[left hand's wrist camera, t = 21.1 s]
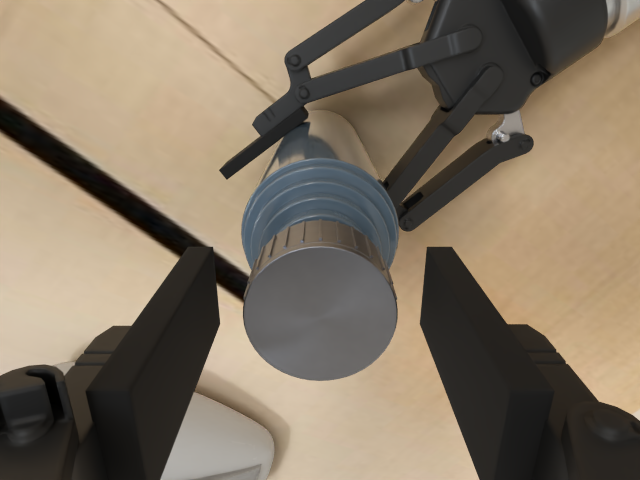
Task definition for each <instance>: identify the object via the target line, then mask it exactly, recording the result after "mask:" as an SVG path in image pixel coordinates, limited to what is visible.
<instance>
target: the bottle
mask: <svg viewBox="0 0 640 480" xmlns="http://www.w3.org/2000/svg"><path fill="white" fill-rule="evenodd" d="M308 113H309V116H308V119H306V120H305V121H304V122H302V123H301V124H300V125H298V126H297V127H296V128H294V129H293V130H292V131H290V132H289V133H288V134H286V135H285V136H284V137H282V138H281V139H280V141H279V143H278V145H277V147H276V149H275V151H274V153H273V155H272V157H271V158H270V160H269V162H268V164H267V166H266V168H265V170H264V172H263V174H262V176H261V178H260V180H259V182H258V184H257V186H256V187H255V189H254V191H253V193H252V195H251V197H250V199H249V201H248V203H247V205H246V208H245V212H244V215H243V220H242V232H241V235H242V244H243V248H244V252H245V255H246V258H247V261H248V264H249V266H250V268H251V270H252V268H253V265H254V262H255V259H258V257H259V255H260V253H261V250H262V247H263V246H266V244H267V243H268V242H269V241H270V240H271V239H272V238H273V236H274V235H277V234H278V233H280V232H281V231H283V230H285V229H286V228H287V227H288V226H289V227H291V226H293V225H296V224H299V223H302V221H305V222H307V221H316V220H319V219H322V220H325V221H333V222H336V221H338V222H339V223H342V224H345V225H348V226H350V227H352V226H353V227H354V228H355V229H356V230H358V231H359V232H361V233H362V234H364V235H367V236H368V239H369V240H370V241H371V242H372V243H373V244H374V245H375V246H378V248H379V251H380V254H381V256H382V258H383V259H385V260H386V263H387V266H388V269H390V267H391V265H392V262H393V259H394V256H395V253H396V250H397V245H398V239H399V225H398V218H397V214H396V210H395V207H394V205H393V203H392V200H391V198H390V196H389V194H388V192H387V191H386V189H385V187H384V185H383V183H382V181H381V179H380V177H379V175H378V173H377V171H376V169H375V167H374V166H373V164H372V162H371V160H370V158H369V156H368V154H367V152H366V150H365V148H364V146H363V144H362V142H361V141H360V139H359V137H358V135H357V133H356V131H355V129H354V128H353V126H352V125H351V124H350V123H349V122H348V121H347V120H346V119H345V118H344V117H342V116H341V115H339V114H337V113H334V112H332V111H328V110H313V111H309V112H308Z"/></svg>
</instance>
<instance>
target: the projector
mask: <svg viewBox="0 0 640 480" xmlns="http://www.w3.org/2000/svg"><path fill="white" fill-rule="evenodd" d="M74 365H75V362H65V363H60V364H56V365H53V366H55V367H57V368H58V369H60V370H61V371H62V372H63V374H64V375H65V374H66V373H67V372H68V371H69V369H70V368H71V367H72V366H74ZM273 458H274V442H273V438H272V436H271V434H270V433H269V431H268V430H267V429H265V428H264V427H263V426H261V425H260V424H258V423H257V422H255V421H253V420H252V419H250V418H248V417H247V416H245V415H243V414H241V413H239V412H237V411H235V410H233V409H231V408H229V407H227V406H225V405H223V404H221V403H219V402H217V401H215V400H212V399H210V398H208V397H206V396H203V395H201V394H198V393H196V392H194V393H193V396H192V398H191V401H190V404H189V406H188V409H187V411H186V414H185V417H184V419H183V422H182V425H181V427H180V430H179V432H178V435H177V438H176V440H175V443H174V445H173V448H172V451H171V453H170V456H169V458H168V461H167V464H166V466H165V469H164V472H163V474H162V477H161V479H160V480H266V479H267V477H268V474H269V472H270V469H271V465H272V462H273Z"/></svg>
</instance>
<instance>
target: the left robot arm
mask: <svg viewBox="0 0 640 480" xmlns="http://www.w3.org/2000/svg"><path fill="white" fill-rule="evenodd" d="M219 325H220V318H219V307H218V296H217V285H216V274H215V264H214V253H213V247H188V248H187V249H186V251H185V252H184V254H183V255H182V256H181V258H180V259H179V261H178V262H177V263H176V265H175V266H174V268H173V269H172V270H171V272H170V273H169V275H168V276H167V277H166V279H165V280H164V282H163V283H162V284H161V286H160V287H159V289H158V290H157V291H156V293H155V294H154V296H153V297H152V298H151V300H150V301H149V302H148V304H147V305H146V307H145V308H144V309H143V311H142V312H141V314H140V315H139V316H138V318H137V319H136V321H135V322H134V323H133V325H132V326H112V327H111V328H109V329H108V330H106V331H105V332H103V333H102V334H100V335H99V336H97V337H96V338H95V339H94V340H93V341H92V342H91V344H90V345H89V346H88V347H87V349H86V350H85V351H84V354H82V355H81V356H80V357H79V358H78V360H77V361H76V362H75V365H74V366H72V367H71V368H70V369H69V371H68V372H67V373H66V374H65V375H64V374H63V372H62V371H61V370H60V369H58V368H57V367H55V366H49V365H33V366H27V367H23V368H19V369H15V370H12V371H10V372H8V373H5V374H3V375H1V376H0V480H160V479H161V477H162V474H163V472H164V469H165V466H166V464H167V461H168V458H169V456H170V453H171V451H172V448H173V445H174V443H175V440H176V438H177V435H178V432H179V430H180V427H181V425H182V422H183V419H184V417H185V414H186V411H187V409H188V406H189V404H190V401H191V398H192V396H193V393H194V391H195V388H196V385H197V383H198V380H199V377H200V375H201V372H202V370H203V367H204V364H205V362H206V359H207V357H208V354H209V351H210V349H211V346H212V344H213V341H214V338H215V336H216V333H217V330H218V328H219ZM420 325H421V328H422V330H423V333H424V336H425V338H426V341H427V344H428V346H429V349H430V351H431V354H432V357H433V359H434V362H435V364H436V367H437V370H438V372H439V375H440V377H441V380H442V383H443V385H444V388H445V391H446V393H447V396H448V398H449V401H450V404H451V406H452V409H453V411H454V414H455V417H456V419H457V422H458V425H459V427H460V430H461V432H462V435H463V438H464V440H465V443H466V445H467V448H468V451H469V453H470V456H471V458H472V461H473V464H474V466H475V469H476V472H477V474H478V477H479V479H480V480H640V421H639V420H638V419H637V418H635V417H634V416H633V415H631V414H629V413H627V412H625V411H624V410H622V409H620V408H618V407H615V406H612V405H609V404H605V403H602V402H599V401H598V400H597V399H596V398H595V396H594V395H593V394H592V393H591V392H590V390H589V389H588V388H587V387H586V385H585V384H584V383H583V382H582V381H581V379H580V378H579V377H578V376H577V375H576V373H575V372H574V371H573V370H572V368H571V367H570V366H569V365H568V364H566V363H565V362H566V361H565V360H564V359H563V358H562V356H561V355H560V354H559V353H557V352H556V349H555V348H554V347H553V345H552V344H551V343H550V342H549V340H548V339H547V338H546V337H545V336H544V335H542V334H541V333H539V332H538V331H536V330H535V329H533V328H532V327H530V326H529V325H527V324H507V323H506V322H505V321H504V319H503V318H502V316H501V315H500V314H499V312H498V311H497V309H496V308H495V307H494V305H493V304H492V303H491V301H490V300H489V298H488V297H487V296H486V294H485V293H484V291H483V290H482V289H481V287H480V286H479V284H478V283H477V282H476V280H475V279H474V277H473V276H472V275H471V273H470V272H469V270H468V269H467V268H466V266H465V265H464V263H463V262H462V261H461V259H460V258H459V256H458V255H457V254H456V252H455V251H454V249H453V248H452V247H427V253H426V264H425V274H424V285H423V296H422V307H421V318H420Z"/></svg>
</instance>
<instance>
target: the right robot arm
mask: <svg viewBox="0 0 640 480" xmlns="http://www.w3.org/2000/svg"><path fill="white" fill-rule="evenodd" d="M403 1H406V2H408V3H409V4H412V5H415V4H418V3H420V2H421V1H423V0H365V1H364V2H362V3H361V4H359V5H358V6H356V7H355V8H353V9H352V10H350V11H349V12H347V13H346V14H344V15H343V16H341V17H340V18H338V19H337V20H335V21H334V22H332V23H331V24H329V25H328V26H326V27H325V28H323V29H322V30H320V31H319V32H317V33H316V34H314V35H313V36H311V37H310V38H308V39H306V40H305V41H303V42H302V43H300V44H299V45H297V46H296V47H294V48H293V49H291V50H290V51H289V52H288V53H287V54H286V56H285V65H286V67H287V70H288V74H289V77H290V81H291V86H290V89H289V91H288V92H287V93H286V94H285V95H284V96H282V97H281V98H280V99H279V100H277V101H276V102H275V103H274V104H272V105H271V106H270V107H268V108H267V109H266V110H265V111H263V112H262V113H261V114H259V115H258V116H257V117H256V119H255V120H254V122H253V124H252V125H253V127H254V128H255V129H256V130H257V132H258V133H259V134H260V137H259V138H257V139H256V140H255V141H254V142H252V143H251V144H250V145H248V146H247V147H246V148H244V149H243V150H242V151H241V152H239V153H238V154H237V155H235V156H234V157H233V158H231V159H230V160H229V161H228V162H227V163H226V164H225V165H224V166H223V167H222V168H221V169H220V170H219V171H220V172H221V173H222V174H223V176H224V177H225V178H226V179H228V178H230V177H231V176H232V175H234V174H235V173H236V172H238V171H239V170H240V169H242V168H243V167H244V166H245V165H247V164H248V163H249V162H251V161H252V160H253V159H255V158H256V157H257V156H259V155H260V154H261V153H263V152H264V151H265V150H267V149H268V148H269V147H271V146H272V145H273V144H275V143H276V142H277V141H279V140H280V139H281V138H282V137H284V136H285V135H286V134H288V133H289V132H290V131H292V130H293V129H294V128H296V127H297V126H298V125H300V124H301V123H302V122H304V121H305V120H306V119H308V116H309V113H308V112H307V110H306V109H305V107H304V105H305V104H307V103H309V102H312V101H315V100H318V99H321V98H324V97H327V96H330V95H333V94H336V93H339V92H342V91H346V90H349V89H352V88H355V87H358V86H361V85H364V84H367V83H370V82H373V81H376V80H379V79H382V78H385V77H388V76H391V75H394V74H397V73H400V72H403V71H407V70H411V69H414V68H418V70H419V71H420V73H421V75H422V76H423V77H424V78H425V79H426V80H427V81H428V82H429V83H431V85H432V88H433V91H434V95H435V98H436V99H437V101H438V102H439V104H440V106H439V107H438V108H437V109H436V111H435V112H434V113H433V115H432V117H431V120H430V121H429V123H428V124H427V125H426V127H425V128H424V129H423V131H422V132H421V133H420V135H419V136H418V137H417V138H416V140H415V141H414V142H413V144H412V145H411V146H410V148H409V149H408V150H407V151H406V153H405V154H404V155H403V157H402V158H401V159H400V161H399V162H398V163H397V164H396V166H395V167H394V168H393V170H392V171H391V172H390V174H389V175H388V176H387V177H386V179H385V180H384V181H383V185H384V187H385V189H386V191H387V192H388V194H389V196H390V198H391V200H392V203H393V205H394V207H395V210H396V214H397V218H398V225H399V226H400V227H401V229H402V230H404V231H412V230H414V229H415V228H416V227H418V226H419V225H420V224H421V223H423V222H424V221H425V220H427V219H428V218H429V217H431V216H432V215H433V214H434V213H436V212H437V211H438V210H440V209H441V208H442V207H444V206H445V205H446V204H447V203H449V202H450V201H451V200H453V199H454V198H455V197H456V196H458V195H459V194H460V193H462V192H463V191H464V190H466V189H467V188H468V187H469V186H471V185H472V184H473V183H475V182H476V181H477V180H478V179H480V178H481V177H482V176H484V175H485V174H486V173H488V172H489V171H490V170H491V169H493V168H494V167H495V166H497V165H498V164H499V163H501V162H504V161H507V160H509V159H512V158H515V157H518V156H520V155H523V154H526V153H528V152H529V151H530V150H531V149H532V147H533V139H532V137H530V136H529V135H526V134H525V133H524V129H523V124H522V119H521V115H520V110H519V109H520V108H522V106H523V105H524V104H525V102H526V101H527V99H528V97H529V96H530V94H531V93H532V92H533V91H534V90H535V89H536V88H538V87H539V86H541V85H542V84H544V83H545V82H547V81H548V80H550V79H551V78H553V77H554V76H556V75H557V74H559V73H560V72H562V71H563V70H564V69H566V68H567V67H569V66H570V65H572V64H573V63H575V62H576V61H578V60H579V59H580V58H582V57H583V56H585V55H586V54H588V53H589V52H591V51H592V50H594V49H595V48H596V47H598V46H599V45H600V44H601V42H602V40H603V38H607V37H612V36H614V35H616V34H618V33H619V32H621V31H622V30H623V29H625V28H626V27H628V26H629V25H631V24H632V23H633V22H635V21H636V20H638V19H639V18H640V0H434V1H435V3H434V6H433V9H432V12H431V14H430V17H429V20H428V22H427V25H426V28H425V31H424V33H423V36H422V39H421V41H420V42H419V43H416V44H413V45H410V46H407V47H404V48H401V49H398V50H395V51H393V52H390V53H387V54H384V55H381V56H378V57H375V58H372V59H369V60H366V61H363V62H360V63H357V64H354V65H351V66H348V67H345V68H342V69H339V70H336V71H333V72H330V73H327V74H324V75H321V76H318V77H315V78H312V79H311V76H310V73H309V69H308V65H309V64H310V63H312V62H314V61H315V60H317V59H318V58H320V57H321V56H323V55H324V54H326V53H327V52H329V51H330V50H332V49H333V48H335V47H337V46H338V45H340V44H341V43H343V42H344V41H346V40H347V39H349V38H350V37H352V36H353V35H355V34H356V33H358V32H360V31H361V30H363V29H364V28H366V27H367V26H369V25H370V24H372V23H373V22H375V21H376V20H378V19H380V18H381V17H383V16H384V15H386V14H387V13H389V12H390V11H392V10H393V9H394V8H396V7H397V6H398V5H400V4H401V3H402V2H403ZM487 114H499V119H498V121H497V123H496V124H495V125H494V126H492V127H491V128H490V129H489V130H488V132H487V138H486V139H483V140H482V141H480V142H478V143H476V144H475V145H474V146H472V147H471V148H470V149H468V150H467V151H466V152H465V153H463V154H462V155H461V156H460V157H458V158H457V159H456V160H455V161H453V162H452V163H451V164H450V165H448V166H447V167H446V168H444V169H443V170H442V171H441V172H439V173H438V174H437V175H436V176H434V177H433V178H432V179H431V180H429V181H428V182H427V183H426V184H424V185H423V186H422V187H421V188H419V189H418V190H417V191H416V192H414V193H413V194H412V195H411V196H409V197H408V198H407V199H406V200H404V201H403V199H404V198H405V197H406V196H407V194H408V193H409V192H410V191H411V189H412V188H413V187H414V186H415V184H416V183H417V182H418V181H419V179H420V178H421V177H422V176H423V174H424V173H425V172H426V171H427V169H428V168H429V167H430V166H431V164H432V163H433V162H434V161H435V159H436V158H437V157H438V156H439V154H440V153H441V152H442V151H443V149H444V148H445V147H446V146H447V144H448V143H449V142H450V141H451V139H452V138H453V137H454V136H455V135H457V134H459V133H460V132H461V131H462V130H463V128H464V127H465V126H466V125H467V123H468V122H469V121H470V120H471V118H472V117H473V116H474V115H487ZM402 201H403V202H402ZM401 202H402V203H401Z"/></svg>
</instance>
